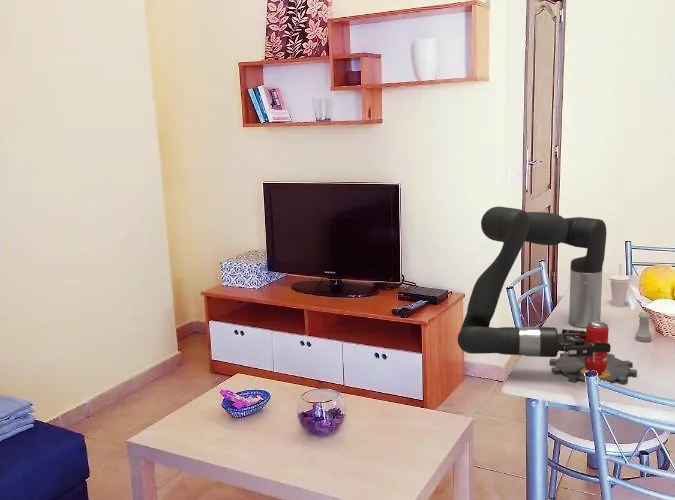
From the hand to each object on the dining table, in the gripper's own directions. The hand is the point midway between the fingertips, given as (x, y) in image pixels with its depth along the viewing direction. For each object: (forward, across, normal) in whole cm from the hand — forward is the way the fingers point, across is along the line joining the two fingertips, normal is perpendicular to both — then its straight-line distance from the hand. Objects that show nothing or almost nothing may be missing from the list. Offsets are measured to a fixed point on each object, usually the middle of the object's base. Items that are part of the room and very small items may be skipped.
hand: (607, 343), depth 170 cm
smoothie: (+16, +63, +9) cm, 65 cm away
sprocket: (-2, +5, +9) cm, 11 cm away
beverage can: (-3, 0, +7) cm, 8 cm away
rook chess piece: (+16, +29, +9) cm, 34 cm away
